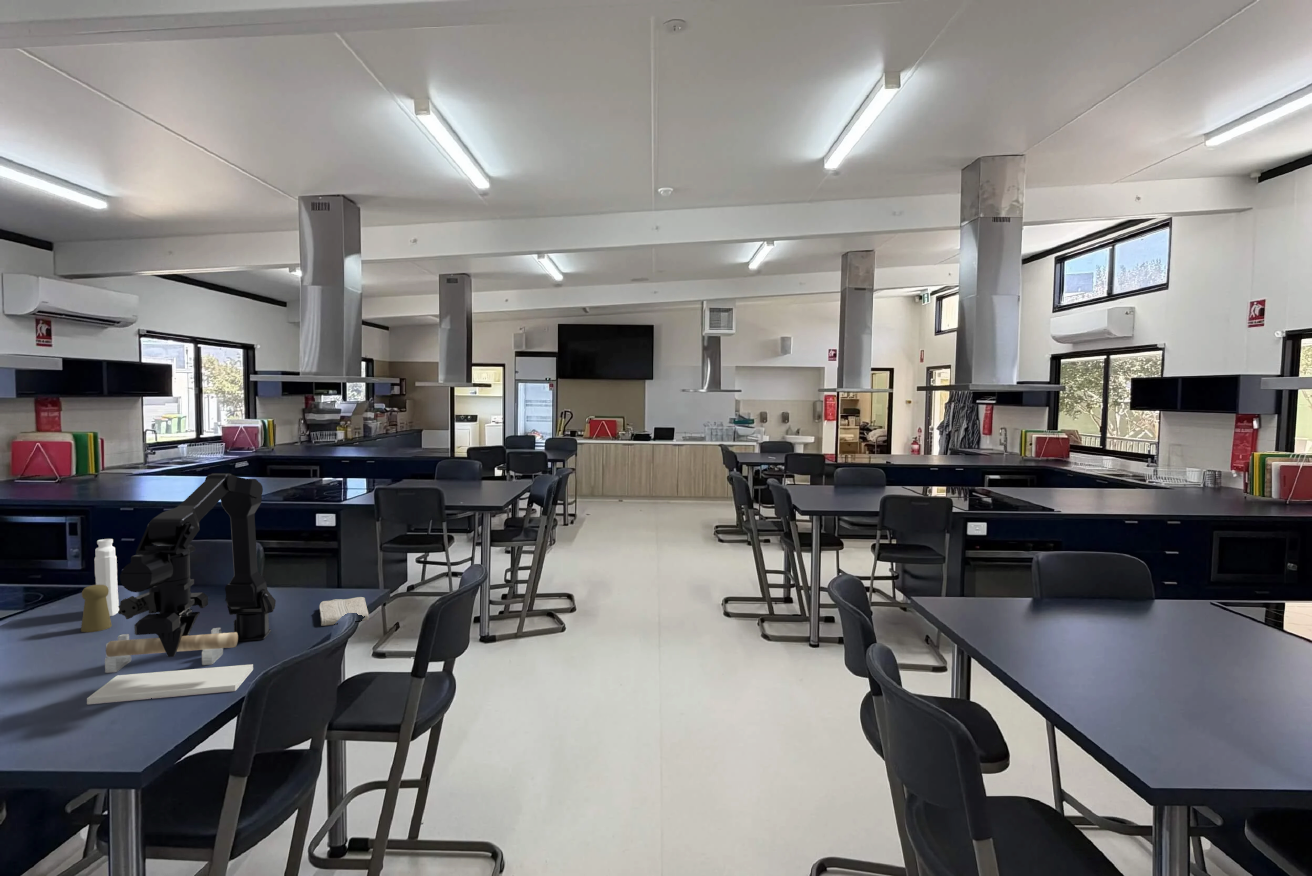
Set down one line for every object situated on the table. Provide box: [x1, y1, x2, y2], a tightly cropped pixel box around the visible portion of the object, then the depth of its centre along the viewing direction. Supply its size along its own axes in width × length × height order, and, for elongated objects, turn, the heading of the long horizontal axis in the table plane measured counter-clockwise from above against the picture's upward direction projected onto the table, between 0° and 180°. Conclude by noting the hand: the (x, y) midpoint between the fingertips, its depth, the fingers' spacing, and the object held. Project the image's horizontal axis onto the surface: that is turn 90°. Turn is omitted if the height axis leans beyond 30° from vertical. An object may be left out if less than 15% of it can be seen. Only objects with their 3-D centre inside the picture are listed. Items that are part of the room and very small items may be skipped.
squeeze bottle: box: [93, 538, 120, 617], centre depth 180 cm, size 10×20×5 cm
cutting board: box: [86, 663, 254, 705], centre depth 135 cm, size 25×11×1 cm, turn 105°
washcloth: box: [319, 596, 370, 627], centre depth 182 cm, size 12×18×3 cm, turn 29°
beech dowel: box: [105, 631, 239, 657], centre depth 134 cm, size 22×3×3 cm, turn 105°
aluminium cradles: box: [104, 627, 224, 674], centre depth 146 cm, size 20×6×6 cm, turn 105°
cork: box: [80, 584, 112, 633], centre depth 168 cm, size 6×6×11 cm
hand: (174, 653), depth 134 cm, fingers closed on beech dowel, 3 cm apart
